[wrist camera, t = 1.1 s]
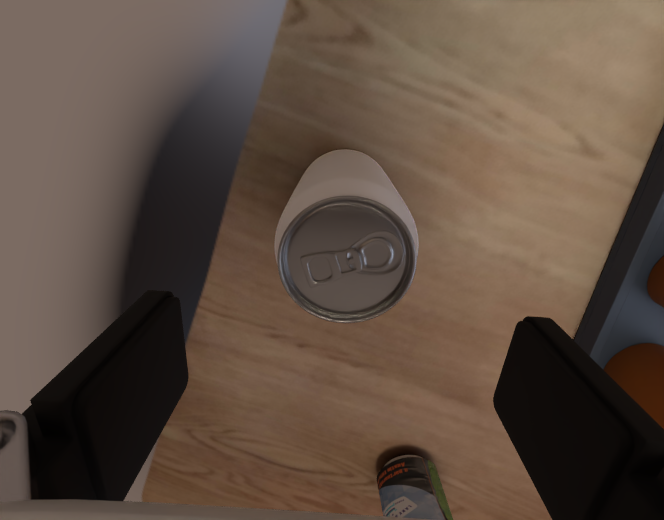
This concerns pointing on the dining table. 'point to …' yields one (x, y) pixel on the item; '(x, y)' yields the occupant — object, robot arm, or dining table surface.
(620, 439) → the robot arm
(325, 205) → the can
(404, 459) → the beverage can
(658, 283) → the amber bottle
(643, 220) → the tray
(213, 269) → the dining table surface
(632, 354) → the amber bottle
